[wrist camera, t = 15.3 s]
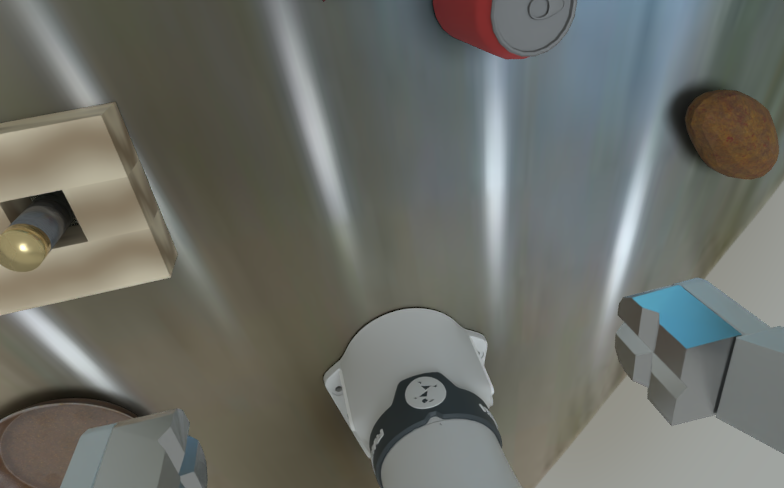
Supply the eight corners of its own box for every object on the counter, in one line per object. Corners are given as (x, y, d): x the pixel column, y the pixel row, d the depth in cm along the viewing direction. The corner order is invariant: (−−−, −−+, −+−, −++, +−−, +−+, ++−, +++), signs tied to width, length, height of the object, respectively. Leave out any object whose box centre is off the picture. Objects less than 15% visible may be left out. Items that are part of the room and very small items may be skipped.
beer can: (509, 32, 44) (583, 55, 34) (434, 46, 43) (486, 74, 33) (507, -57, 41) (588, -62, 30) (426, -44, 40) (481, -44, 30)
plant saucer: (191, 402, 56) (187, 423, 53) (145, 507, 62) (139, 532, 60) (2, 365, 49) (-13, 388, 47) (-29, 487, 56) (-44, 514, 53)
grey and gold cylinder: (89, 212, 44) (51, 266, 36) (52, 219, 44) (5, 276, 36) (73, 179, 42) (29, 229, 35) (35, 187, 42) (-18, 239, 34)
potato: (699, 62, 49) (759, 77, 43) (762, 125, 54) (824, 146, 48) (649, 123, 51) (699, 145, 45) (714, 178, 56) (767, 205, 50)
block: (177, 254, 47) (170, 277, 44) (16, 289, 46) (-4, 316, 42) (115, 101, 40) (101, 115, 37) (-78, 137, 39) (-111, 154, 35)
